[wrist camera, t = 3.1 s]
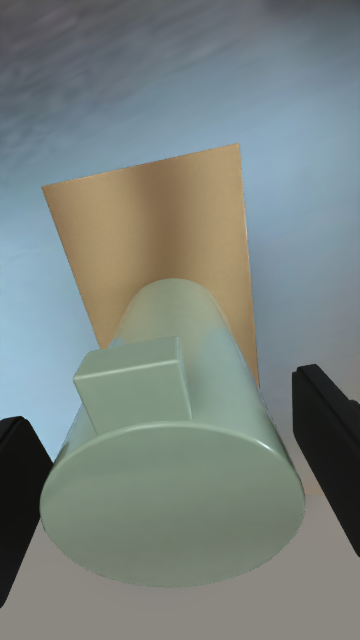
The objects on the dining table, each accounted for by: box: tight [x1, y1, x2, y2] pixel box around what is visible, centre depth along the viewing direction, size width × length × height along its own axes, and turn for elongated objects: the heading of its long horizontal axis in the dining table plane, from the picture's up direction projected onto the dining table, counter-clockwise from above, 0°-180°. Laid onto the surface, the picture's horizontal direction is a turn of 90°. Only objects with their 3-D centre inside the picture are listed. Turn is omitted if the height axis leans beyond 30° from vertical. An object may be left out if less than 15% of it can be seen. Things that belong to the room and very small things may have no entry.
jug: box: [40, 278, 305, 588], centre depth 12 cm, size 10×6×11 cm, turn 11°
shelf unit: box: [42, 143, 260, 390], centre depth 22 cm, size 10×18×12 cm, turn 11°
